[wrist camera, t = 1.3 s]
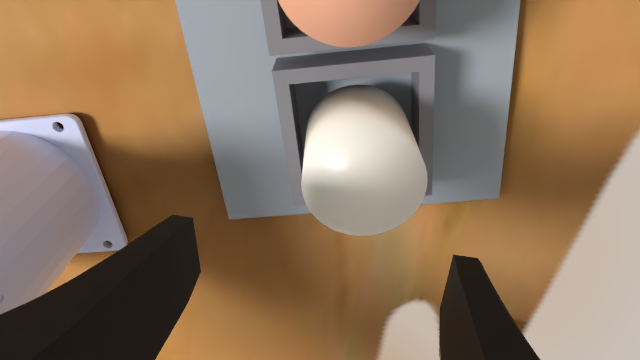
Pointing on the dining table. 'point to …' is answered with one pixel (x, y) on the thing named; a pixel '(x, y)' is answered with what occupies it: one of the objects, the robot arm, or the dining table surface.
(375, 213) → the button cream
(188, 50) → the panel
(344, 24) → the button terracotta
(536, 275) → the dining table surface
